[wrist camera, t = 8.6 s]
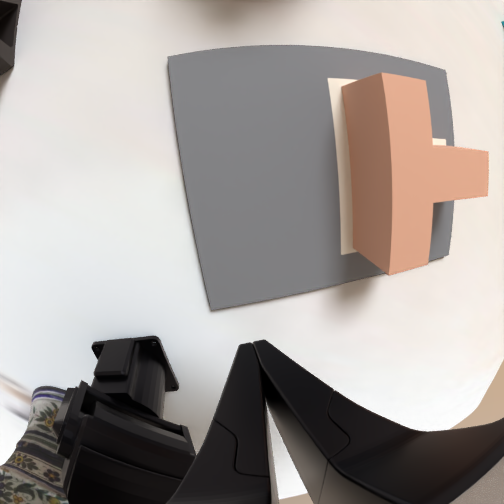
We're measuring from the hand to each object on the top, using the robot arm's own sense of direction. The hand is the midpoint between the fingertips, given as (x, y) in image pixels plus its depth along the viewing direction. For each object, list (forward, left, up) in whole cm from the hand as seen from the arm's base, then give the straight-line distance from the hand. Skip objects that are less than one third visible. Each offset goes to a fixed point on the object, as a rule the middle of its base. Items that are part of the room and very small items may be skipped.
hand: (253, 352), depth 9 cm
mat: (+4, -9, -12) cm, 15 cm away
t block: (+4, -14, -11) cm, 19 cm away
